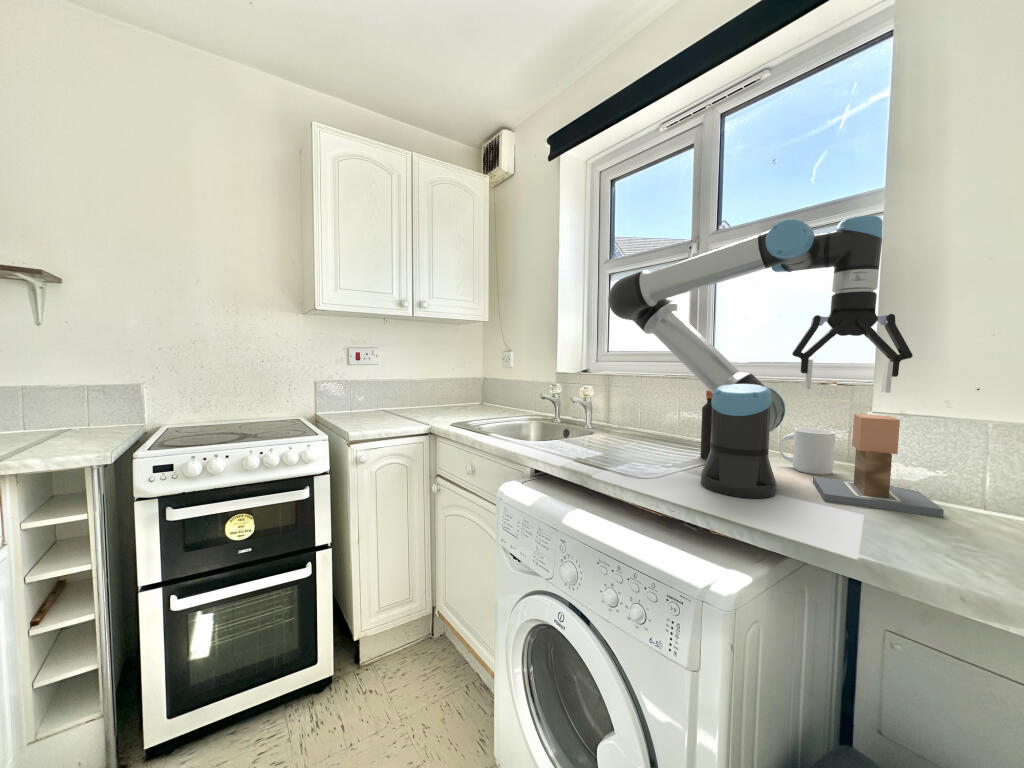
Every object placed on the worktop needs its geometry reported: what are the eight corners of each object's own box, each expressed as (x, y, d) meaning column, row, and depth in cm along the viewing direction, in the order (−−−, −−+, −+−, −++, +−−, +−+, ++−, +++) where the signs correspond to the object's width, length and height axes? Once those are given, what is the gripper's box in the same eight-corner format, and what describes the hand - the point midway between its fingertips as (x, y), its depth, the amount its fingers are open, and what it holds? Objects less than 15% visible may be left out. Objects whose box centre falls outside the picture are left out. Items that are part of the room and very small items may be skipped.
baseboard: (824, 500, 85) (824, 493, 85) (812, 482, 97) (813, 476, 97) (943, 517, 77) (943, 509, 77) (914, 495, 89) (914, 488, 89)
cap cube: (859, 450, 85) (861, 417, 85) (851, 445, 90) (853, 413, 90) (897, 454, 82) (899, 419, 82) (887, 448, 87) (889, 416, 87)
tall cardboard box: (863, 494, 85) (866, 452, 84) (853, 484, 92) (856, 444, 91) (888, 498, 83) (892, 454, 82) (876, 487, 90) (879, 446, 89)
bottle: (727, 462, 116) (730, 392, 114) (700, 459, 118) (703, 391, 117) (724, 456, 122) (727, 390, 121) (699, 454, 125) (702, 389, 123)
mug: (782, 462, 116) (784, 425, 115) (835, 470, 108) (837, 430, 107) (774, 468, 110) (776, 428, 109) (829, 477, 102) (832, 435, 101)
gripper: (786, 293, 91) (779, 387, 93) (941, 286, 79) (929, 395, 81) (783, 297, 97) (776, 385, 99) (925, 291, 85) (915, 392, 87)
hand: (845, 390), depth 90 cm, fingers open, 13 cm apart
